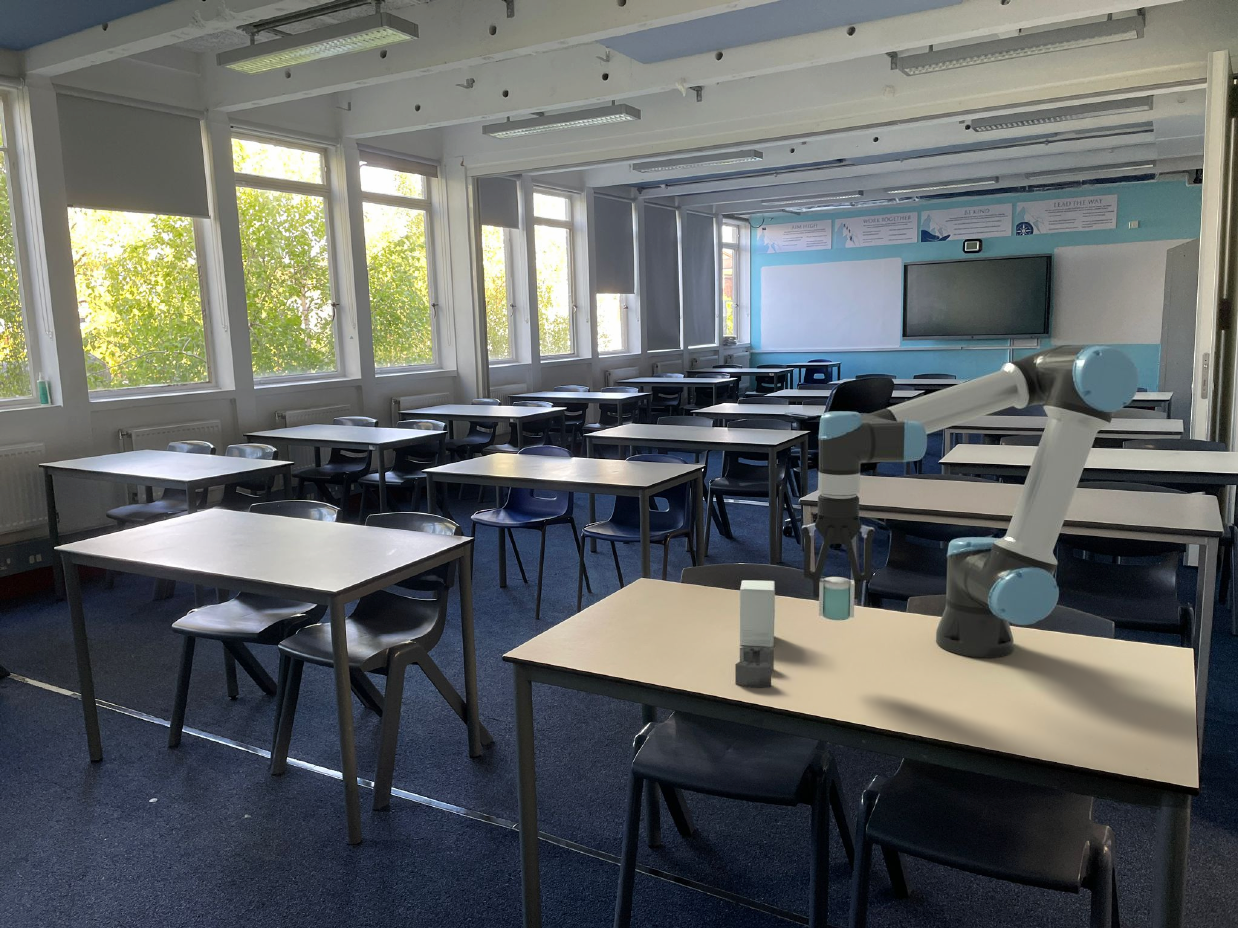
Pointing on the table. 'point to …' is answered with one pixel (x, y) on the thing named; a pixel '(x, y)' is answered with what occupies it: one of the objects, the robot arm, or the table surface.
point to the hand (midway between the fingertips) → (836, 613)
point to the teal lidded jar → (836, 598)
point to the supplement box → (757, 613)
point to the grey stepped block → (754, 667)
